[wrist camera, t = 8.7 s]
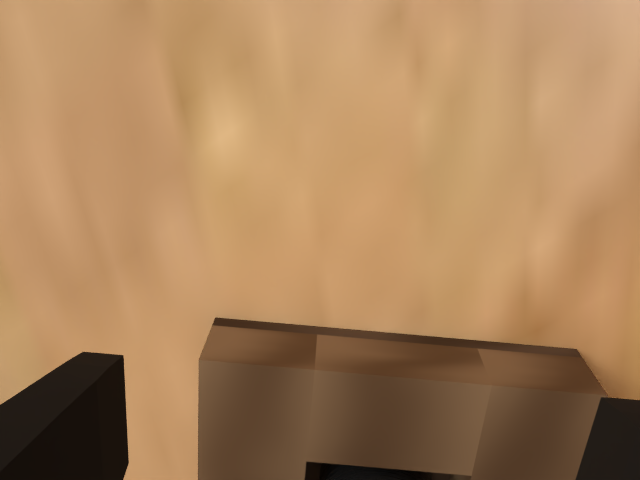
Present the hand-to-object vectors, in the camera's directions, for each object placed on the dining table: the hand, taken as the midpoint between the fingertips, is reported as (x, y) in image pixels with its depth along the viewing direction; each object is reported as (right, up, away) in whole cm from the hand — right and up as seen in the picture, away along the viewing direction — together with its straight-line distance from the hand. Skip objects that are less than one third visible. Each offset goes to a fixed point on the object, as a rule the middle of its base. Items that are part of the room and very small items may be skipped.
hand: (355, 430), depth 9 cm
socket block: (+1, -6, +13) cm, 14 cm away
